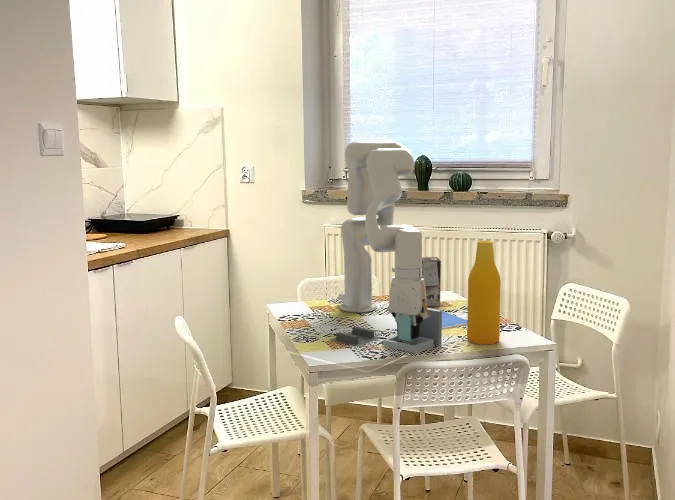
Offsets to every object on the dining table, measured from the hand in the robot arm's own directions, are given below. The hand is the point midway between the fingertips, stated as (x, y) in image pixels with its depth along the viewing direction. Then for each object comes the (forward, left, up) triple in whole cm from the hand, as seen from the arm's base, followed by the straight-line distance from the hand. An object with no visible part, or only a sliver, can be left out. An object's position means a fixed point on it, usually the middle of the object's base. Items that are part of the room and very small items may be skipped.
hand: (408, 336), depth 193 cm
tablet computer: (-8, +30, -4) cm, 31 cm away
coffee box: (-22, +47, -3) cm, 52 cm away
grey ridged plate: (-16, -4, -3) cm, 17 cm away
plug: (0, 0, -1) cm, 1 cm away
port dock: (0, +1, -3) cm, 3 cm away
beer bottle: (+14, +18, -3) cm, 23 cm away
